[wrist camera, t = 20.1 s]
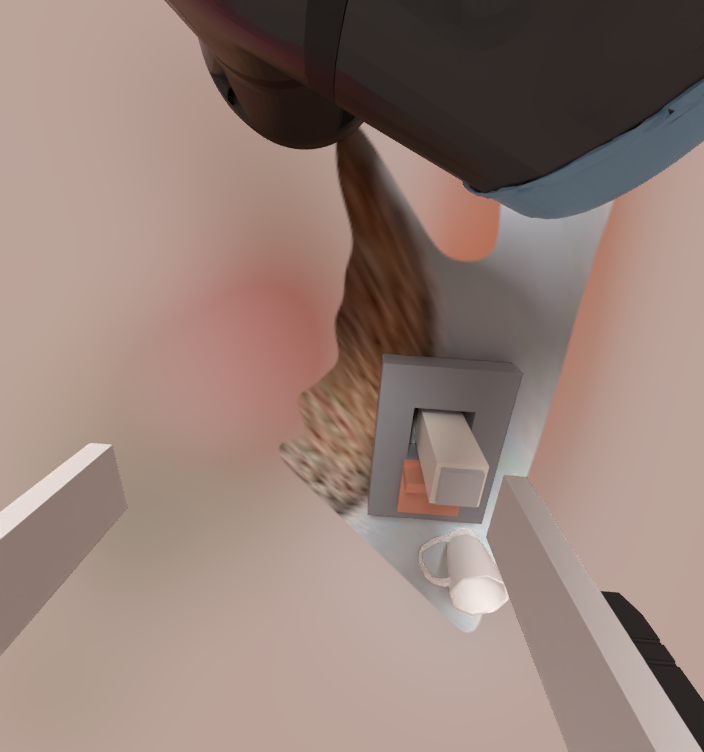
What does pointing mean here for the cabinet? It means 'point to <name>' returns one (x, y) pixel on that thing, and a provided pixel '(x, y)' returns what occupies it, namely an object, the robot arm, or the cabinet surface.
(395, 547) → the cabinet surface
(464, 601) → the cup
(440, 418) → the plug
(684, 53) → the robot arm
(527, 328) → the cabinet surface
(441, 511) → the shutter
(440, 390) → the socket
